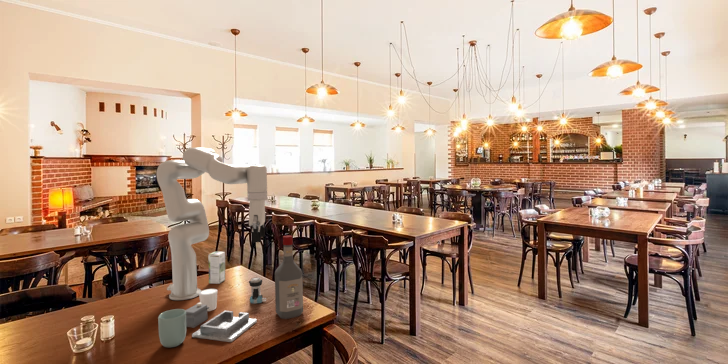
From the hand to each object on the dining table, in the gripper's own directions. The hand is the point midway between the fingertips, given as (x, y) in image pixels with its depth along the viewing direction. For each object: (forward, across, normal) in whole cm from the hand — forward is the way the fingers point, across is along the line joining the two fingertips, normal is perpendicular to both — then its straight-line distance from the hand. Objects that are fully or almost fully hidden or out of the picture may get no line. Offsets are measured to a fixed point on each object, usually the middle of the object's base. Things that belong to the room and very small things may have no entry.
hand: (258, 239), depth 138 cm
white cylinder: (+28, -3, -21) cm, 35 cm away
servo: (+28, +10, -21) cm, 36 cm away
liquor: (+28, +7, +12) cm, 31 cm away
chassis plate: (+28, +17, -9) cm, 34 cm away
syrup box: (+28, -37, -26) cm, 53 cm away
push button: (+28, -6, -2) cm, 29 cm away
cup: (+28, +25, -23) cm, 44 cm away
